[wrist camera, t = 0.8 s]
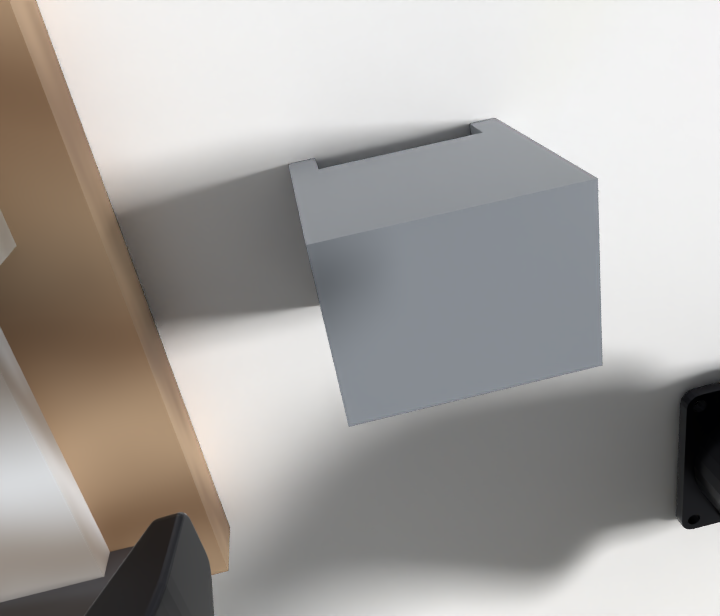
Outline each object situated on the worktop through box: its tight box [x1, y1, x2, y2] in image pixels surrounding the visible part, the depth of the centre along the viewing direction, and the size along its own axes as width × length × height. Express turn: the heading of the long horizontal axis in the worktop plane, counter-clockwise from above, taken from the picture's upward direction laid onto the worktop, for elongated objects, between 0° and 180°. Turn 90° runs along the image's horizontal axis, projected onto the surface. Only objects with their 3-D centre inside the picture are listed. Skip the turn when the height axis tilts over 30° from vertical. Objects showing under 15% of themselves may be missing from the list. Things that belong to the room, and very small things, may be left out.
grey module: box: [288, 118, 602, 427], centre depth 18 cm, size 4×6×6 cm
